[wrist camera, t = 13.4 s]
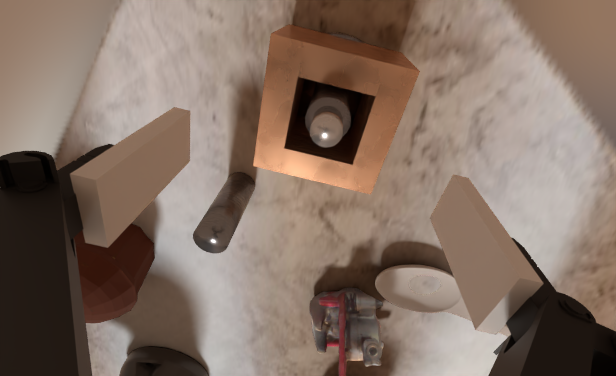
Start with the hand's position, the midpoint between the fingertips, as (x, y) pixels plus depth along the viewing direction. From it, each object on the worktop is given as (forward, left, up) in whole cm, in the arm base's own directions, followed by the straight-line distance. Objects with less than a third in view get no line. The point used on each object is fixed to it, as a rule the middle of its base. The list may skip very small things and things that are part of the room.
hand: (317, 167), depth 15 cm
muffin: (-33, +6, -14) cm, 36 cm away
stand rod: (-14, 0, -14) cm, 20 cm away
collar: (0, 0, -13) cm, 13 cm away
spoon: (-6, -35, -15) cm, 39 cm away
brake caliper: (-19, -22, -14) cm, 32 cm away
